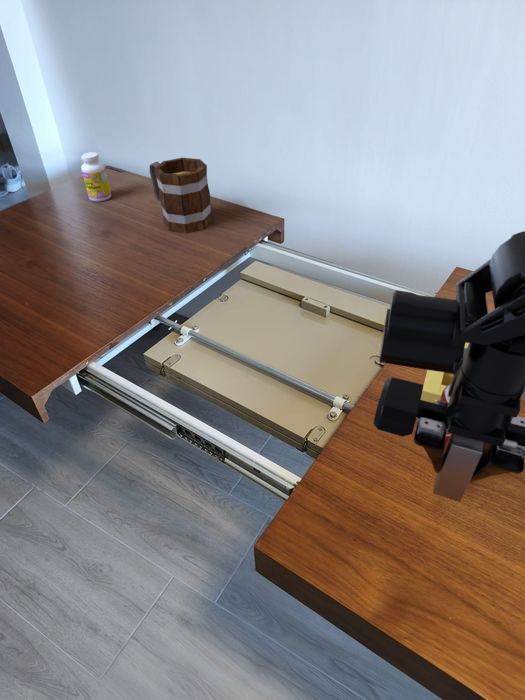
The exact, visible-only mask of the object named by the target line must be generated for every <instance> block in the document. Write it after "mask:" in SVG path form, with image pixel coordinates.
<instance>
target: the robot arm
mask: <svg viewBox="0 0 525 700" xmlns="http://www.w3.org/2000/svg"><path fill="white" fill-rule="evenodd" d="M455 288H456V291H455V292H456V296H455V298H453V299H452V298H445V297H438V296H430V295H421V294H417V293H414V292H411V291H406V290H398V289H396V290H394V291H393V292H392V298H391V301H390V305H389V308H387V309H386V313H385V314H386V315H385V319H384V326H383V331H382V338H381V344H380V351H379V359H378V362H379V363H382V364H389V365H395V366H401V367H408V368H413V369H420V370H426V371H427V370H432V371H438V372H446V373H450V374H454V376H453V379H452V382H451V385H450V388H449V393H448V397H450V400H449V403H446V402H442V401H438V400H436V401H435V403H431V402H427V401H423V400H421V395H422V391H423V386H424V384H422V383H418V382H414V381H410V380H406V379H402V378H398V377H393V376H390V377H389V378H387V379H386V380H385V381H384V383H383V386H382V390H381V393H380V396H379V399H378V403H377V405H376V410H375V414H374V418H373V426H374V427H375V428H376V430H378V431H381V432H384V433H388V434H392V435H395V436H399V437H406V436H407V437H408V436H410V435H412V434H413V433H414V437H413V442H414V444H415V445H417V446H419V447H422V448H423V449H424V451H425V453H426V455H427V456H428V455H429V457H430V458H429V457H428V458H429V459H431V460H430V461H431V464H432V467H433V470H434V472H435V474H436V473H439V472H440V470H441V468H442V461H443V454H444V447H445V439H446V432H447V431H448V432H449V433H452V434H456V435H460V436H463V437H467V438H471V439H474V440H478V441H482V442H485V443H484V445H483V454H482V456H481V458H480V460H479V463H478V465H477V467H476V469H475V471H474V474H473V476H472V478H471V480H470V482H469V484H470V483H474V482H478V481H480V480H483V479H486V478H489V477H493V476H498V475H504V474H509V473H513V474H515V475H516V474H517V475H519V474H521V473H523V472H524V470H525V417H523V416H519V414H520V411H521V403H522V401H523V399H524V397H525V230H523V231H520V232H516V233H514V234H511V236H510V237H509V239H507V240H505V241H504V242H502V243H501V244H500V245H499V246H498V247H497V248H496V250H495V251H494V252H493V253H492V255H491V258H490V259H488V260H487V261H485V262H484V263H483V264H482V265H480V266H479V267H477V268H476V269H475V270H473V271H472V272H470V273H469V274H467V275H466V276H465V277H463V278H462V279H460V280H459V281H458V282H457V283H456V284H455ZM487 293H492V300H493V306H494V309H493V310H491V311H490V312H489V306H488V297H487ZM465 343H469V344H468V347H467V348H464V347H465ZM415 425H416V428H415ZM414 430H415V431H414Z"/></svg>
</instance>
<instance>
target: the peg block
mask: <svg viewBox="0 0 525 700" xmlns="http://www.w3.org/2000/svg"><path fill="white" fill-rule="evenodd" d="M468 344H469V343H465V347H464V348H467V347H468ZM453 376H454V374H450V373H446V372H438V371H432V370H426V374H425V378H424V382H423V385H424V386H423V391H422V395H421V400H423V401H427V402H431V403H435V401H436V400H438V401H440V398H441V394H442V391H443V390H444V388H445V387H447V386H448V385H449V384H451V382H452V379H453Z"/></svg>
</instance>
